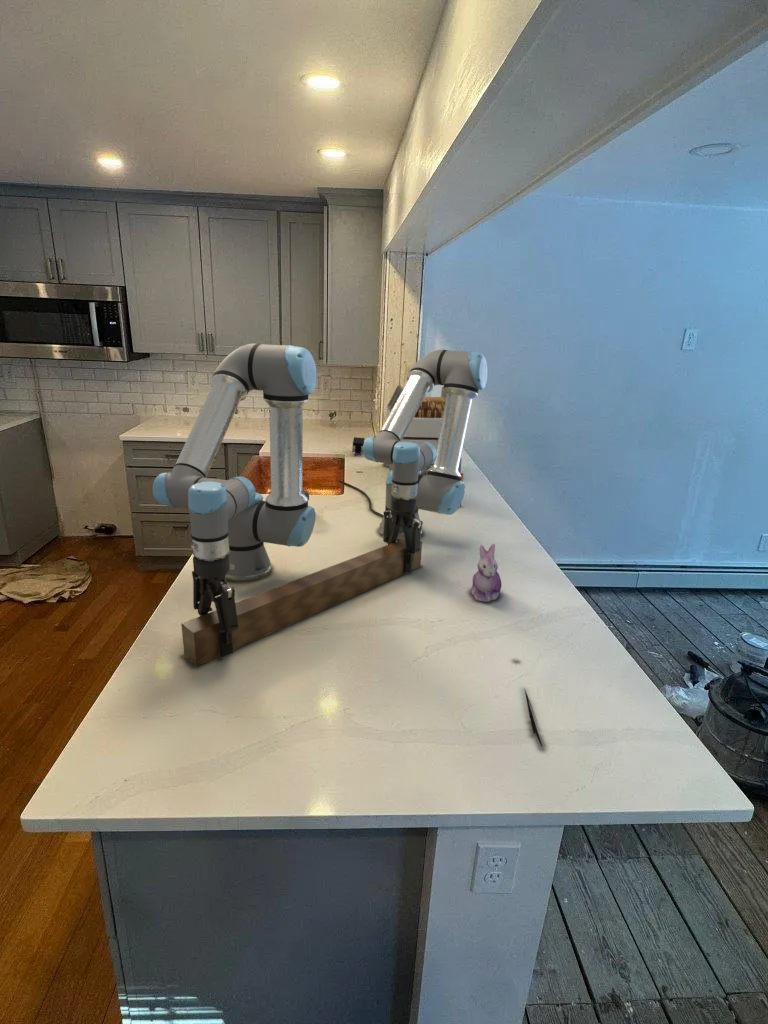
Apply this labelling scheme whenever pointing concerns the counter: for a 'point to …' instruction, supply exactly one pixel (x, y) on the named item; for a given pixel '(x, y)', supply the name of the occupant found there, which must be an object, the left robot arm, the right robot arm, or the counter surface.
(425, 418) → the transformer
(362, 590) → the bar
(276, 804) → the counter surface
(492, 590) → the figurine
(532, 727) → the feather
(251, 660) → the counter surface
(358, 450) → the figurine character
